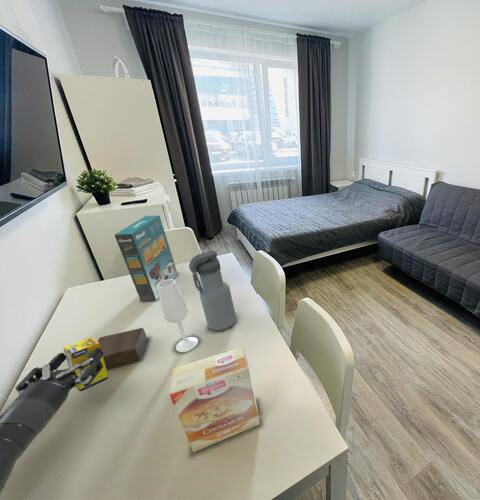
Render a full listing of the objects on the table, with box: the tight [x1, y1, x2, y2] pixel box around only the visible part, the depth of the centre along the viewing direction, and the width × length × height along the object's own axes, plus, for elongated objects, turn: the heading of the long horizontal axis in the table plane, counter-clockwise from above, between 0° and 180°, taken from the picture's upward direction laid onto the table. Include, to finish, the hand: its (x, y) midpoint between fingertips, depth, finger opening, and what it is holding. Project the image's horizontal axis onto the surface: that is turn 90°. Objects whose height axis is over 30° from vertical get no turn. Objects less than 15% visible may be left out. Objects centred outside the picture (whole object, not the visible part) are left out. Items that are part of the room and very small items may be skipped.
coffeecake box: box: [168, 346, 261, 453], centre depth 61 cm, size 15×7×20 cm, turn 114°
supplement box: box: [62, 336, 109, 393], centre depth 71 cm, size 6×6×11 cm
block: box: [97, 327, 149, 370], centre depth 85 cm, size 12×10×5 cm
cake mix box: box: [114, 215, 178, 302], centre depth 116 cm, size 22×6×30 cm, turn 6°
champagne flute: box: [157, 278, 199, 353], centre depth 84 cm, size 7×7×24 cm
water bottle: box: [188, 250, 237, 332], centre depth 93 cm, size 10×10×28 cm
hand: (82, 352), depth 70 cm, fingers closed on supplement box, 8 cm apart
